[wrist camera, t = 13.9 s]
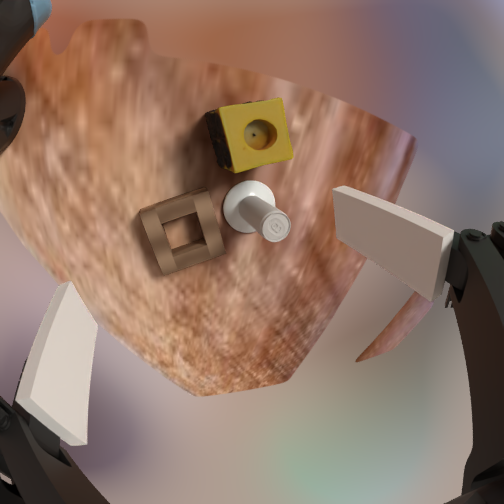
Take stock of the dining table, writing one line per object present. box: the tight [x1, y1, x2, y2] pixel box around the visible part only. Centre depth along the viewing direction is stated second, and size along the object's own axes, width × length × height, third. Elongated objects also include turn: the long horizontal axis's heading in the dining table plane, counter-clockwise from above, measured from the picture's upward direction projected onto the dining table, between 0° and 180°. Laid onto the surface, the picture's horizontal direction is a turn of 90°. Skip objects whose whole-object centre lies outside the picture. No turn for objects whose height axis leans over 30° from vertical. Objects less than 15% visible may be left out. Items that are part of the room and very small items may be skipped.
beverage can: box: [239, 195, 291, 242], centre depth 45 cm, size 5×5×12 cm
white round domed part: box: [223, 180, 275, 233], centre depth 50 cm, size 10×10×1 cm
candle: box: [205, 98, 293, 173], centre depth 40 cm, size 10×10×10 cm
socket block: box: [140, 187, 226, 275], centre depth 47 cm, size 12×12×4 cm
